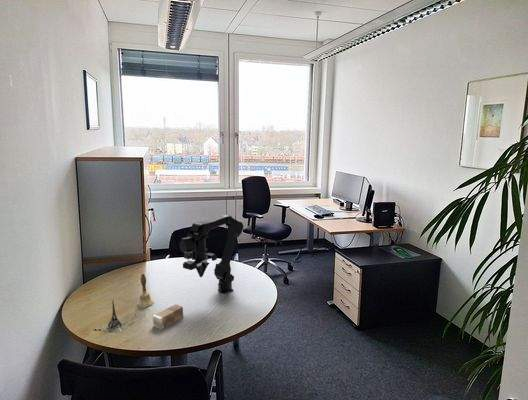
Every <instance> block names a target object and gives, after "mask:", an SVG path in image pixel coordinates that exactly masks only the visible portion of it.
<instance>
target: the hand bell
mask: <svg viewBox="0 0 528 400" xmlns="http://www.w3.org/2000/svg"><path fill="white" fill-rule="evenodd" d="M140 276H141V277H140V284H141V288H142V292H141V293H140V295H139V301H138V302H137V303H136V306H137V308H141V309H143V308H148V307H151V306H153V305H154V303H155V301H154V299H152V298H151V296H150V292H147V287H146V285H147V278H146V275H145V273H141V275H140Z"/></svg>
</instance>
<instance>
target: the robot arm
mask: <svg viewBox="0 0 528 400" xmlns="http://www.w3.org/2000/svg"><path fill="white" fill-rule="evenodd" d="M224 225H225V226H226V227H227V230H226V231H227V239H226V241H225V242H226V243H225V246H224V250H223V253H222V256H221V259H220V262H219V263H216V264H215V267H214V270H213V274H214V276H215V277H216V279H217V280H218V284H217V285H218V286H217V287H218V288H217V291H218V292H220V293H222V294H228V293H230V292H233V291H234V289H233V288H232V286H233V283H232V282H234V280H235V276H234V275H233V274H232V268H231V261H232V258H233V257H232V256H233V253H234V250H235V247H236V243H237V239H238V238H239V237H240V236H241V234H242V232H243V230H244V227H245V226H244V224H243V222H242V221H238V220H237V219H236V218H234V217H232V216H231V215H228V214H222V215H220V216H218V217H215V218H212V219H210V220H207V221H206V220H205V221H196V222H193V223H192V224H191V228H190V229H189V231H188V233H187V235H186V236H187V237H181V241H179V244H178V246H179V250H180V252H181V253H183V258H184V259H186V261H184V262H183V263H182V268H183V269H185V270H189V271H193V270H196V272H197V274H198V276H199V277H200V278H203V276H204V274H205V272H206V270H207V268H208V267H209V265H210V262H208V261H209V260H211V261H213V262H214V261H216V260H218V256H217V254H216V253H212V252H208V248H206V247H207V246H206V239H208V238H209V237H210V236H209V235H208V234H209V232H210V231H211V230H213V229H215V228H218V227H220V226H224Z"/></svg>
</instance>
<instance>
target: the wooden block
mask: <svg viewBox="0 0 528 400" xmlns="http://www.w3.org/2000/svg"><path fill="white" fill-rule="evenodd" d="M183 318H184V307H183V306H182V305H179V304H176V303H175V304H173V305H171V306H169V307H168V308H165V309H163V310H161V311H159V312H157V313H155V314H153V315H152V321H153V323H152V325H153V326H154V327H155V328H157V329H159V330H162V329H164V328H165V327H168V326H169V325H171V324H173V323H174V322H176V321H177V322H178V321H179V320H180V319H183Z"/></svg>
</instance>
